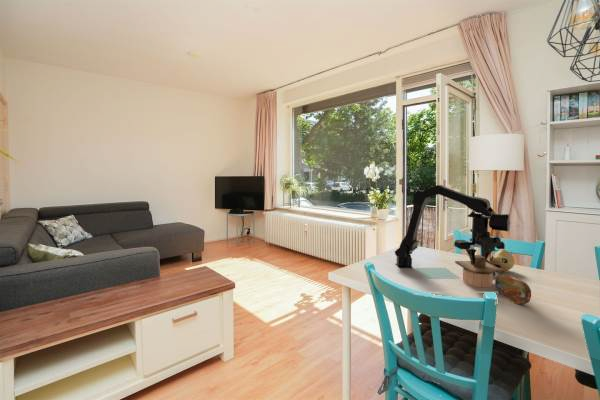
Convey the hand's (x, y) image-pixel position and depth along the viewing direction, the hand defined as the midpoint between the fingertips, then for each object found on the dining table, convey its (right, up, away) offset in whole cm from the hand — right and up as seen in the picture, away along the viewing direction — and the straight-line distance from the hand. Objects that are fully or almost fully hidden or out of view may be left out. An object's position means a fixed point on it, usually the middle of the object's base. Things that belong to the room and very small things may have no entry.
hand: (477, 263), depth 132 cm
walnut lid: (0, -1, 0) cm, 2 cm away
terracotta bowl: (0, -9, +1) cm, 9 cm away
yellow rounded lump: (+20, -7, +16) cm, 27 cm away
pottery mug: (+10, -7, +14) cm, 19 cm away
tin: (+4, -10, -15) cm, 19 cm away
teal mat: (-12, -7, +13) cm, 19 cm away
